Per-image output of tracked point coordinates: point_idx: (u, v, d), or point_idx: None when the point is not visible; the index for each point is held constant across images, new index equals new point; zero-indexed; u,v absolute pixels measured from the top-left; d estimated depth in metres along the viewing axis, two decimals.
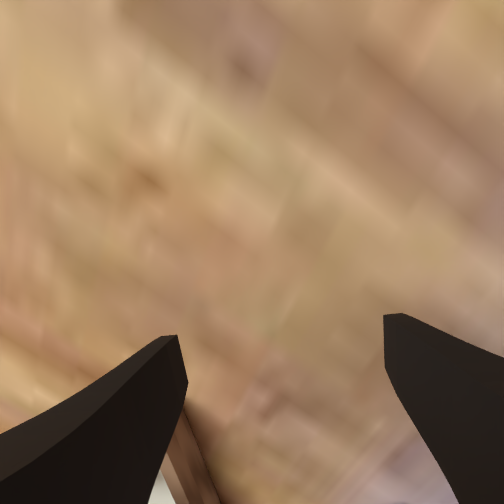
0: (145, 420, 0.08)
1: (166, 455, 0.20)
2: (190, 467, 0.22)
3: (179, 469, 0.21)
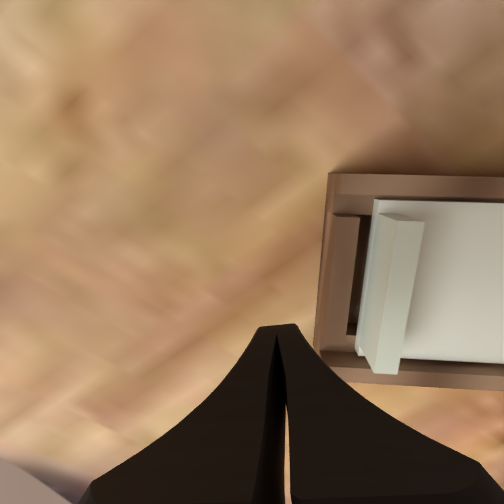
0: (277, 411, 0.07)
1: (383, 176, 0.14)
2: None
3: None
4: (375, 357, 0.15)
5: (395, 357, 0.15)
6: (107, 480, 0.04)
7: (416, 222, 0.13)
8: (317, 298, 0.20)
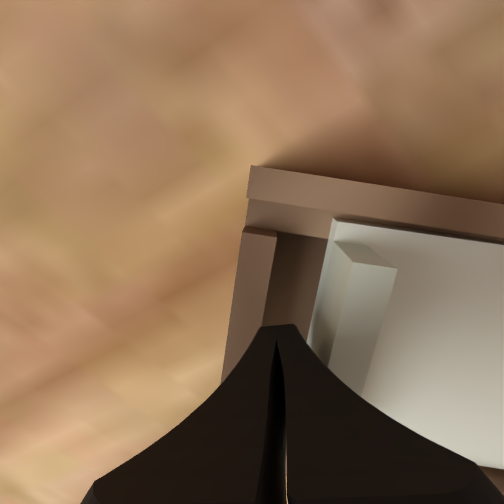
0: (278, 411, 0.07)
1: (313, 178, 0.09)
2: None
3: None
4: None
5: None
6: (110, 480, 0.04)
7: (383, 268, 0.08)
8: None
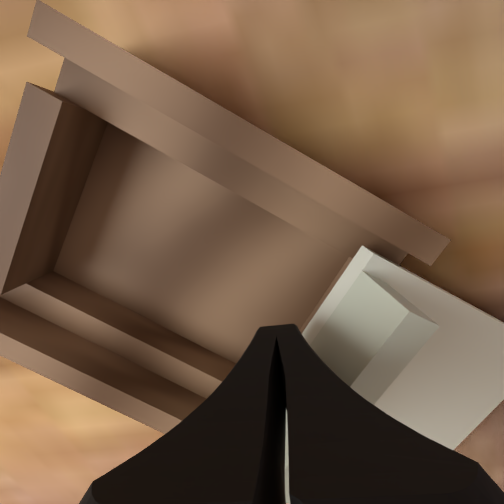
0: (277, 411, 0.07)
1: (99, 40, 0.08)
2: None
3: None
4: None
5: None
6: (108, 480, 0.04)
7: (429, 323, 0.08)
8: None
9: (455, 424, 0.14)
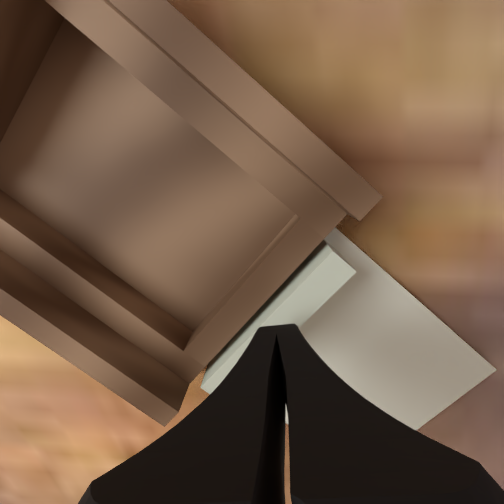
0: (277, 411, 0.07)
1: None
2: None
3: None
4: (213, 373, 0.12)
5: None
6: (107, 480, 0.04)
7: (348, 266, 0.11)
8: None
9: None
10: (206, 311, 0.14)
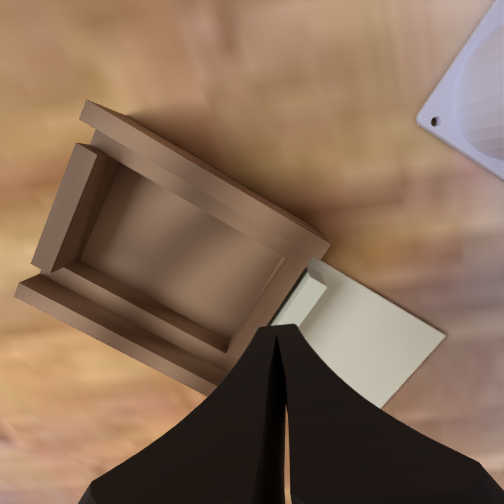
0: (277, 411, 0.07)
1: (122, 123, 0.14)
2: (193, 159, 0.16)
3: (162, 144, 0.15)
4: None
5: None
6: (107, 480, 0.04)
7: (321, 284, 0.17)
8: None
9: (381, 381, 0.21)
10: (236, 325, 0.20)
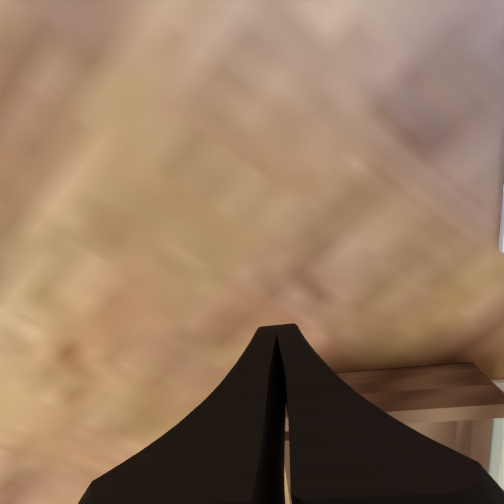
0: (277, 411, 0.07)
1: None
2: None
3: None
4: None
5: None
6: (107, 480, 0.04)
7: None
8: None
9: None
10: None
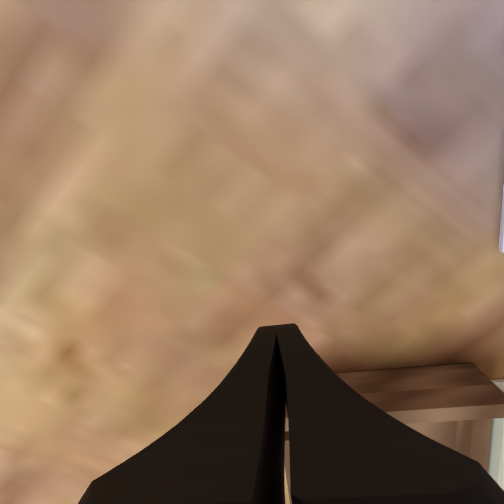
0: (277, 411, 0.07)
1: None
2: None
3: None
4: None
5: None
6: (107, 480, 0.04)
7: None
8: None
9: None
10: None
